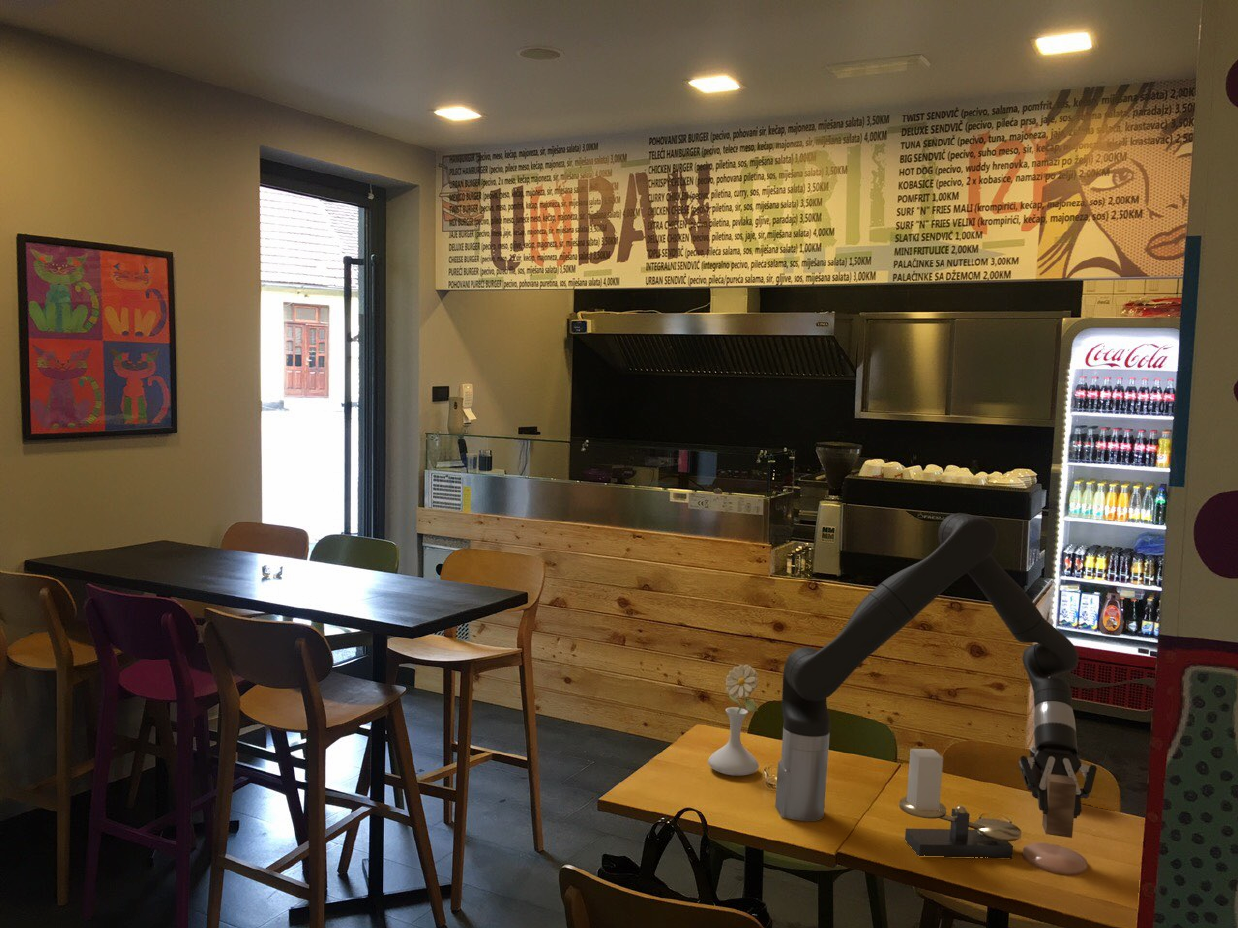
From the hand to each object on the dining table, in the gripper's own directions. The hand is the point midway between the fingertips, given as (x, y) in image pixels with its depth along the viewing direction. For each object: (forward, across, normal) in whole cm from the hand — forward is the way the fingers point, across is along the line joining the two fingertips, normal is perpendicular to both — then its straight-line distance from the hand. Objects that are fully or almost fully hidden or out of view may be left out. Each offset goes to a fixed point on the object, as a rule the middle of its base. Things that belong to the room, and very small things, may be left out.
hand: (1060, 813), depth 185 cm
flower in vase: (-10, -63, +23) cm, 68 cm away
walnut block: (+2, 0, +4) cm, 4 cm away
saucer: (+6, 0, +8) cm, 10 cm away
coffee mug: (-19, +5, +34) cm, 39 cm away
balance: (+7, -17, +6) cm, 20 cm away
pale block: (+3, -24, -1) cm, 25 cm away
